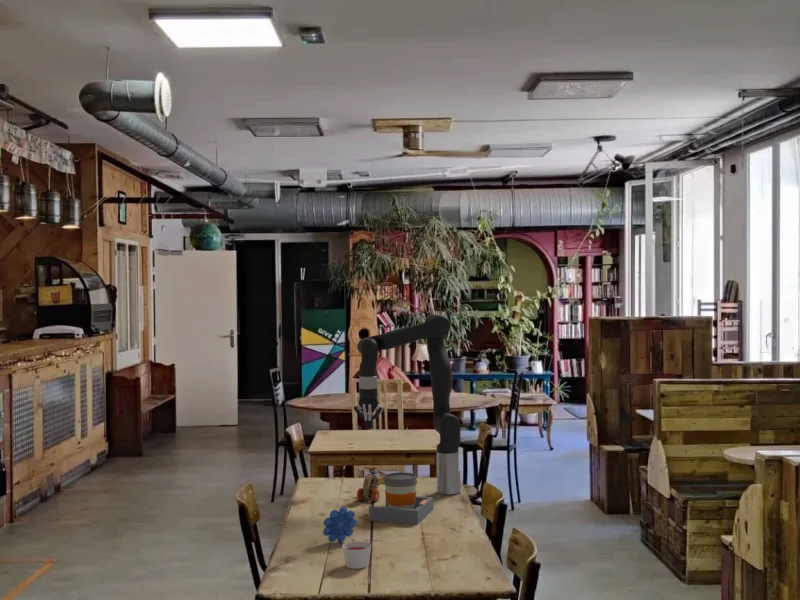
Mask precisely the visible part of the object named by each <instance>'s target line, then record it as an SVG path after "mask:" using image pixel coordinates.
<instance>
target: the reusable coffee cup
mask: <svg viewBox="0 0 800 600" xmlns="http://www.w3.org/2000/svg"><path fill="white" fill-rule="evenodd" d="M417 484H418V480H417V475H416V474H415V473H411V472H391V473H386V475H385V479H384V484H383V485H384V486H385V490H384V493H385V503H386V502H387V504H388V507H389V508H402V509H414V503H415V500H416V496H417Z"/></svg>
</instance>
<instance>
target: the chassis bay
mask: <svg viewBox="0 0 800 600" xmlns="http://www.w3.org/2000/svg"><path fill="white" fill-rule="evenodd" d="M432 510H433V511H434V497H431V496H419V495H416V500H415V503H414V509H402V508H389V507H388V504H387V502H386V501H385V506H373V505H372V506H369V507H368V520H369V521H370V522H371V521H372V522H383V523H384V522H385V523H394V522H398V524H406V523H408V524H409V525H410V524H411V525H419V524H420V523H421V522H423V520H425V519H426V518H427V515H428V514H429V513H430V512H431V511H432ZM433 511H432V512H433ZM432 512H431V513H432ZM431 513H430V514H431ZM430 514H429V515H430ZM429 515H428V516H429Z"/></svg>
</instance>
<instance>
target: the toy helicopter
mask: <svg viewBox="0 0 800 600" xmlns="http://www.w3.org/2000/svg"><path fill="white" fill-rule="evenodd" d="M362 468H364V469H368V473H369V474H367V475H365V477H364V479H363V483H362V488H361V487H360V488H358V490H357V493H356V498H357V500H358V501H364V500H365V499H367V500H368V499H371V501H372V502H375V503H377V502H378V501H379V499H380V490H379V489H378V488H379V486H380V485H385V484H384V479H385V475H387V473H385V472H382V471H381V470H378V469H377V467H375V466H372V467H369V466H363V467H362ZM378 474H379V476H376V475H378Z"/></svg>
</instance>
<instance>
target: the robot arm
mask: <svg viewBox="0 0 800 600" xmlns="http://www.w3.org/2000/svg"><path fill="white" fill-rule="evenodd" d="M450 330H451V322H450V320H449V318H448V317H446V316H445V315H443V314H434V313H432V314H429V315H428V316H427V317H426V318H425V321H424V322H422V323H419V324H415V325H411V326H407V327H406V326H405V327H401V328H396V329H394V330H390V331H386V332H384V333H381V334H376V335H371V336H367V337H364V338H361V339H360V340H359V341H358V342H357V350H358V352H359V353H360V354H361V362H360V363H359V366H358V367H359V368H358V369H359V372H358V373H359V378H358V390H359V391H358V393H359V394H358V395H359V396H358V397H359V401H358V404H357V405H355V406H353V410H354V411H355V413H356V414H357V415H358V416H359V418H360V419H362V420H363V421H364V427H365V429H366V430H369V431H371V430H372V428H373V426H374V425H373V424H374V423H373V422H374V420H376V419H377V418H378V417H379V416H380V414H381V413H382V412H383V410H384V406H381V404H379V403H380V402H379V400H378V399H379V393H378V387H379V385H378V377H377V376H378V375H377V374H378V372H377V371H378V370H377V362H378V357H379V352H380V351H384V350H385V351H386V350H390V349H395V348H398V347H400V346H401V347H402V346H405V345H407V344H410V343H413V342H416V341H419V340H424V339H426V343H427V349H428V363H429V374H430V375H429V376H430V384H431V393H432V403H433V404H432V405H433V413H432V414H433V427H434V429H435V431H436V432H437V433H438V434H439V435H440V436H439V443H438V444H437V445H436V485H437V486H436V489H437V494H440V495H444V494H445V495H447V496H449V495H450V496H452V495H457V494H461V493H462V492H461V490H462V489H461V470H460V469H459V468H460V466H459V463H460V461H459V459H460V458H459V453H460V452H459V447H460V446H461V421H460V420H459V418H458V417H457V416H455V415H454V414H452V413H451V407H450V398H451V392H452V388H453V383H454V382H453V370H452V365H451V362H450V358H449V355H448V353H447V350H446V346H445V336H446V335H447V334H448V333H449V332H450ZM375 411H376V412H375Z"/></svg>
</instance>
